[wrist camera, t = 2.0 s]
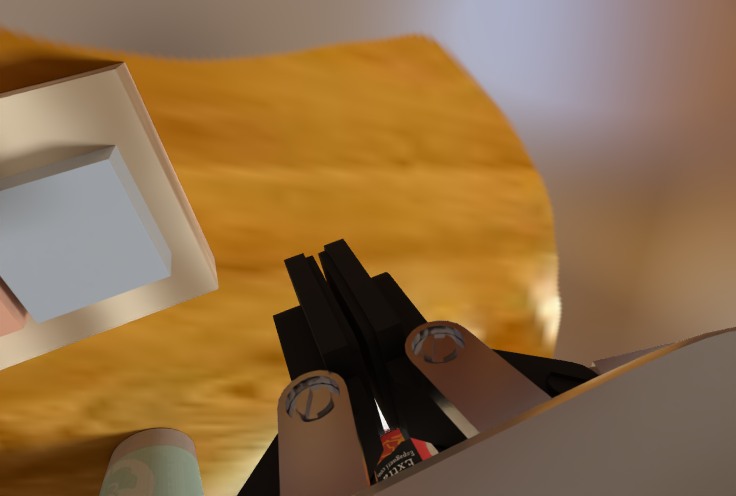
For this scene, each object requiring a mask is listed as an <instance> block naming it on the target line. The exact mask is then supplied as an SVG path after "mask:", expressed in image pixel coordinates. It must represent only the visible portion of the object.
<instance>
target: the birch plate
mask: <svg viewBox="0 0 736 496" xmlns="http://www.w3.org/2000/svg"><path fill="white" fill-rule="evenodd" d="M114 145H116V146H117V148H118V150H119V152H120V154H121V156H122V158H123V160H124V162H125V164H126V166H127V168H128V170H129V172H130V174H131V176H132V177H133V179H134V181H135V183H136V185H137V187H138V189H139V191H140V193H141V195H142V197H143V199H144V201H145V203H146V205H147V207H148V209H149V211H150V213H151V215H152V216H153V218H154V220H155V222H156V224H157V226H158V228H159V230H160V232H161V234H162V236H163V238H164V240H165V242H166V244H167V246H168V248H169V250H170V252H171V276H169V277H167V278H164V279H161V280H158V281H155V282H153V283H150V284H147V285H144V286H141V287H139V288H136V289H133V290H130V291H127V292H125V293H122V294H119V295H116V296H113V297H111V298H108V299H105V300H102V301H100V302H97V303H94V304H91V305H88V306H86V307H83V308H80V309H77V310H74V311H72V312H69V313H66V314H63V315H60V316H58V317H55V318H52V319H49V320H46V321H44V322H41V323H38V324H37V323H36V321H35V320H34V319H33V317H32V316H31V315H30V316H29V318H28V320H27V322H26V324H25V326H24V328H23V329H21V330H19V331H16V332H13V333H10V334H7V335H5V336H2V337H0V370H2V369H4V368H7V367H10V366H12V365H15V364H18V363H21V362H23V361H26V360H29V359H31V358H34V357H37V356H39V355H42V354H45V353H47V352H50V351H53V350H55V349H58V348H61V347H64V346H66V345H69V344H72V343H74V342H77V341H80V340H82V339H85V338H88V337H90V336H93V335H96V334H98V333H101V332H104V331H106V330H109V329H112V328H115V327H117V326H120V325H123V324H125V323H128V322H131V321H133V320H136V319H139V318H141V317H144V316H147V315H149V314H152V313H155V312H158V311H160V310H163V309H166V308H168V307H171V306H174V305H176V304H179V303H182V302H184V301H187V300H190V299H192V298H195V297H198V296H200V295H203V294H206V293H209V292H211V291H214V290H217V289H219V287H218V280H217V273H216V266H215V259H214V256H213V254H212V252H211V249H210V247H209V245H208V243H207V241H206V238H205V236H204V234H203V232H202V230H201V228H200V225H199V223H198V221H197V219H196V217H195V214H194V212H193V210H192V208H191V206H190V203H189V201H188V199H187V197H186V195H185V192H184V190H183V188H182V186H181V184H180V182H179V179H178V177H177V175H176V173H175V171H174V168H173V166H172V164H171V162H170V160H169V157H168V155H167V153H166V151H165V149H164V147H163V144H162V142H161V140H160V138H159V136H158V133H157V131H156V129H155V127H154V125H153V122H152V120H151V118H150V116H149V114H148V111H147V109H146V107H145V105H144V103H143V101H142V98H141V96H140V94H139V92H138V90H137V87H136V85H135V83H134V81H133V79H132V76H131V74H130V72H129V70H128V68H127V66H126V63H125V62H123V63H119V64H115V65H111V66H107V67H103V68H100V69H96V70H92V71H88V72H84V73H80V74H76V75H72V76H68V77H64V78H60V79H56V80H52V81H48V82H44V83H40V84H36V85H32V86H29V87H25V88H21V89H17V90H13V91H9V92H5V93H1V94H0V178H4V177H7V176H11V175H14V174H18V173H21V172H25V171H28V170H32V169H35V168H38V167H42V166H45V165H49V164H52V163H56V162H59V161H63V160H66V159H69V158H73V157H76V156H80V155H83V154H87V153H90V152H94V151H97V150H101V149H104V148H107V147H111V146H114Z"/></svg>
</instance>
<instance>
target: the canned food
mask: <svg viewBox="0 0 736 496" xmlns="http://www.w3.org/2000/svg"><path fill="white" fill-rule="evenodd" d="M380 439H381V442H382V445H383V448H384V451H383V453H382V455H381V457H380V460H379V462H378V464H377V467H376V469H375V473H376V476H377V479H378V482H380V481H382V480H385V479H387V478H389V477H391V476H393V475H395V474H397V473H399V472H401V471H403V470H405V469H407V468H409V467H411V466H413V465H415V464H417V463H419V462H421V461H424V460H426V459H428V458H430V457H432V455H431V454H430V452H429V450H428V448H427V446H426V443H425V442H424V441H421V440H417V439H413V438H409V439H407V440H404V438H403V436H402V434H401V432H400V430H399V429H396V430H393V431H391V432H389V433H387V434H385V435H384V436H382V437H381V438H380Z"/></svg>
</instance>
